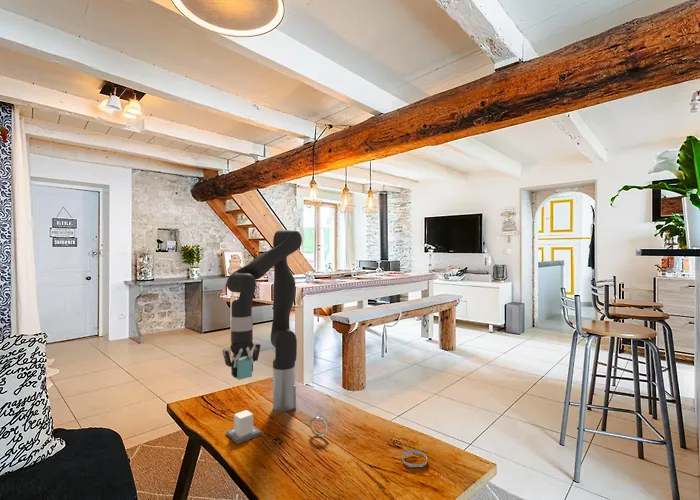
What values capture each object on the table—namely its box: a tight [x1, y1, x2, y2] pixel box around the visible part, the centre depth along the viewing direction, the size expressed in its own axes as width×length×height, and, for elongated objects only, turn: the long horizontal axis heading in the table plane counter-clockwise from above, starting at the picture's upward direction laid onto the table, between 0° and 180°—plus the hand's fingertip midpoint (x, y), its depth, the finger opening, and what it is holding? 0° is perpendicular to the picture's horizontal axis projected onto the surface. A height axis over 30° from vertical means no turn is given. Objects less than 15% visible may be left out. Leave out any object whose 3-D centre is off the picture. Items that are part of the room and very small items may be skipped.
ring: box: [309, 412, 329, 438], centre depth 128 cm, size 7×3×8 cm, turn 61°
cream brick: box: [233, 409, 254, 436], centre depth 130 cm, size 5×5×6 cm
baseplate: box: [225, 425, 262, 445], centre depth 130 cm, size 9×9×1 cm
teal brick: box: [235, 356, 253, 381], centre depth 130 cm, size 5×5×6 cm
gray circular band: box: [401, 449, 428, 468], centre depth 112 cm, size 8×8×2 cm
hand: (242, 375), depth 130 cm, fingers closed on teal brick, 5 cm apart
